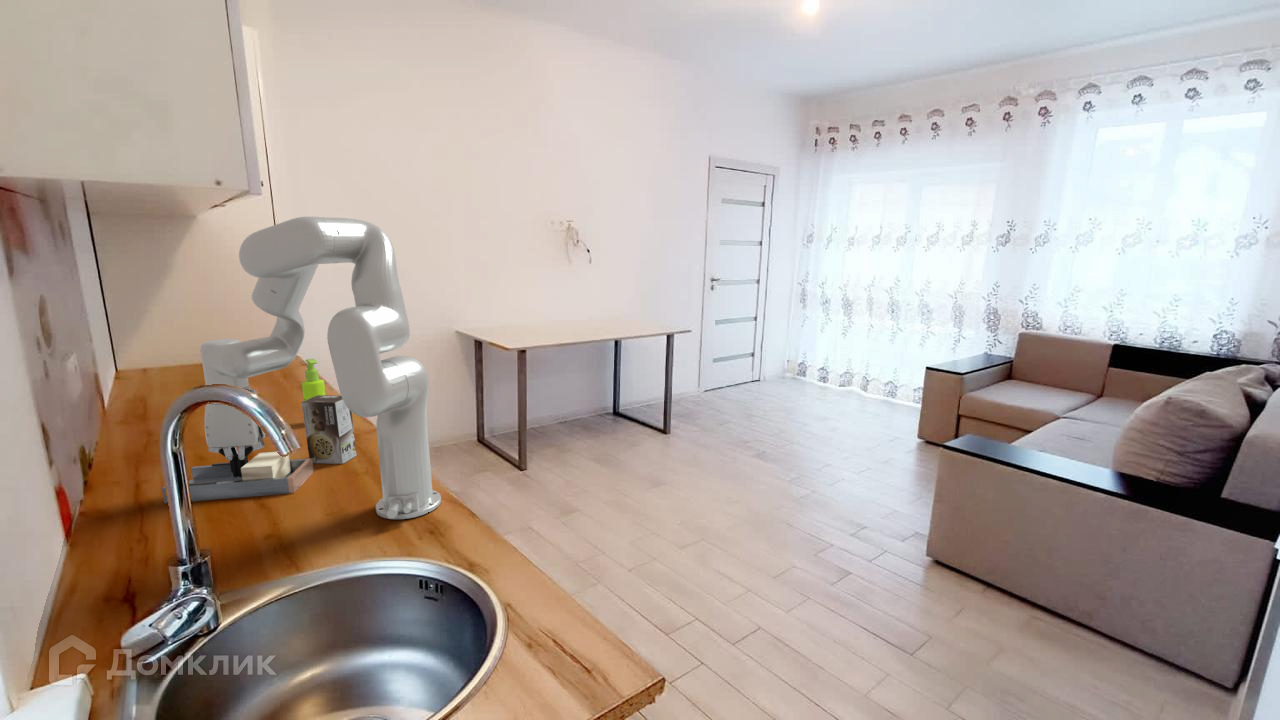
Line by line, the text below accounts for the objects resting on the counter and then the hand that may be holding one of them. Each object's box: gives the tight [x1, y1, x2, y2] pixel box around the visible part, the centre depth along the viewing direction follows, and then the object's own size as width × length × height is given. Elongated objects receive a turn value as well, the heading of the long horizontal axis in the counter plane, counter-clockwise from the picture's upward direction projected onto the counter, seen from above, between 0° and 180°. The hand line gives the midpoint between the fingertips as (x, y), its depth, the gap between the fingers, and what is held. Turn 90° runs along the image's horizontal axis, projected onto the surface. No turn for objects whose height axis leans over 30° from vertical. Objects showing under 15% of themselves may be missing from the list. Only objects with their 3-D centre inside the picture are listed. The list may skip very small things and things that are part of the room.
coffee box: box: [300, 394, 357, 465], centre depth 142 cm, size 9×6×16 cm
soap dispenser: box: [301, 358, 327, 401], centre depth 171 cm, size 6×7×20 cm
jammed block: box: [241, 451, 291, 480], centre depth 128 cm, size 9×6×5 cm, turn 12°
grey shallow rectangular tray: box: [161, 457, 315, 504], centre depth 127 cm, size 12×25×4 cm, turn 102°
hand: (241, 474), depth 127 cm, fingers closed
